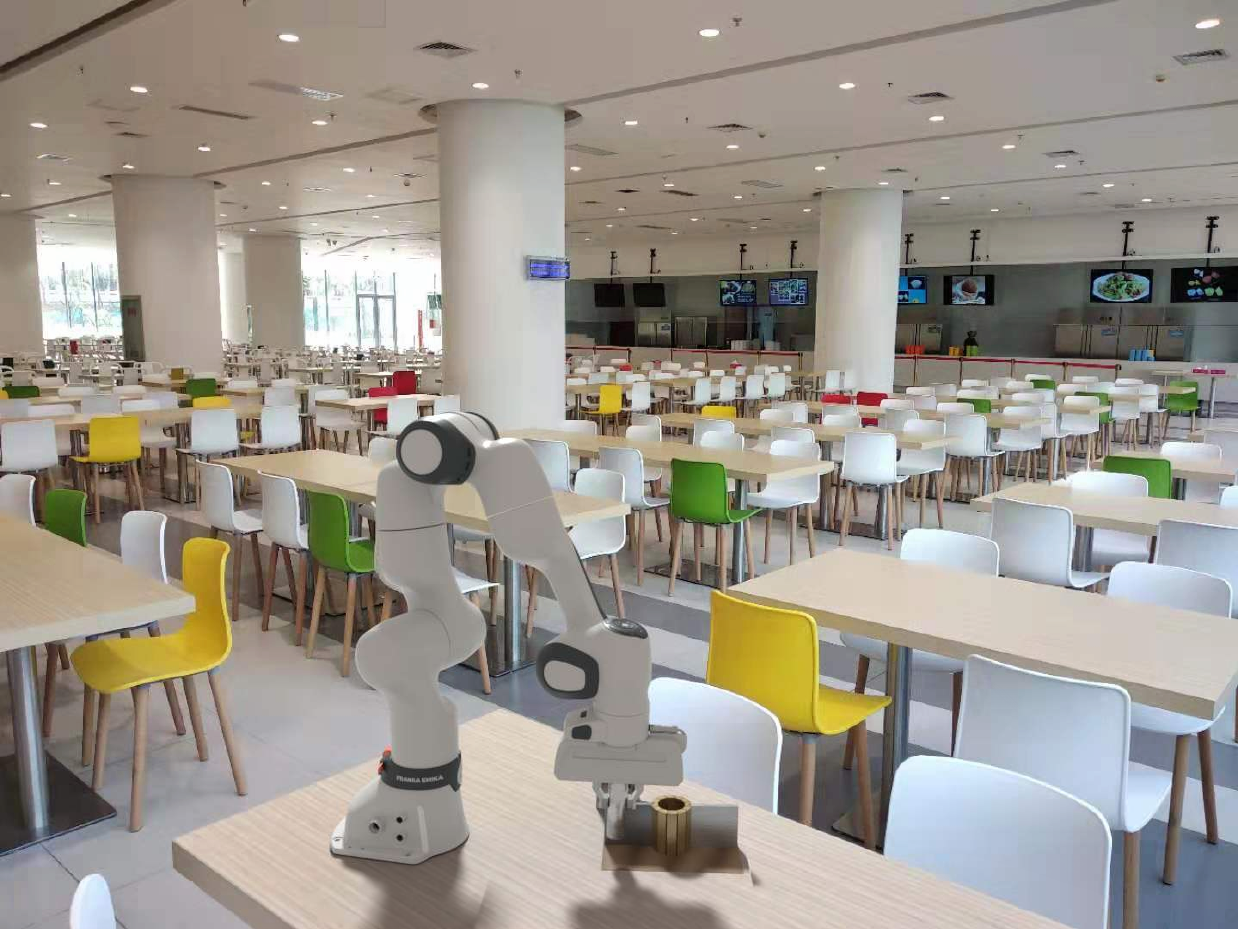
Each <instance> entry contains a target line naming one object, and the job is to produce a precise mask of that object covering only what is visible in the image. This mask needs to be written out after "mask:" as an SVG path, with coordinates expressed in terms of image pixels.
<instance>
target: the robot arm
mask: <svg viewBox="0 0 1238 929" xmlns="http://www.w3.org/2000/svg"><path fill="white" fill-rule="evenodd" d="M395 456H396V459H393V460H392V461H389V462H388V463H386V464H385V465H384V466H383V467H382V468H381V469H380V471H379V473H378V476H377V484H376V493H375V494H376V498H375V512H376V513H375V517H376V518H375V519H376V529H377V530H376V531H377V540H378V541H377V542H378V548H379V549H378V550H379V551H378V552H379V560H380V568H381V569H380V570H381V574H382V576H383V578H384V579H385V580H386V581H387V582H388V583H389V584H391V585H393V586H394V587H397V588H399V589H400V591H401V593H402V594H403V597H404V599H405V601H406V605H407V612H405V613H402V614H399V615H396V616H393V617H390V618H387V619H384V620H382V621H381V622H379V623H378V624H376V625H374V627H372V628H370V629H369V630H368V631H366V632H364V633H363V634H362V635H361V636H360V637H359V639H358V640H357V643H356V645H355V651H354V660H355V665H356V669H357V671H358V673H359V676H360V677H361V678H362V679H363V681H364V682H365V683H366V684H368V685H369V686H370V687H372V688H373V689H374V690H376V691H378V692H379V693H380V695H381V696H382V698H383V699H384V700H383V701H384V702H385V705H386V707H387V710H388V717H389V725H390V729H389V730H390V745H387V746H386V747H385V749H384V750H383V752H382V757H381V759H380V760H379V765H378V767H377V774H378V776H377V777H376V778H374V779H373V780H371V781H370V782H369V783H367V784H366V785H363V787H362V788H361V789H360V790H358V791H357V792H356V793H355V795H354V796H353V797H352V799H351V801H350V803H349V805H348V808H347V811H346V815H345V816H344V817H343V818H342V819H341V820H340V821H339V823H338V824H337V825H336V826H335V828H334V830H333V832H332V834H331V837H330V849H331V852H332V853H333V854H337V855H341V856H347V857H348V856H349V857H357V858H362V859H363V858H364V859H372V860H377V861H378V860H379V861H386V862H394V863H400V864H408V865H418V864H420V863H423V862H424V861H426V860H428V859H430V858H431V857H433V856H437V855H440V854H443V853H446V852H449V851H451V850H453V849H456V848H457V847H458V846H459V847H460V845H461V844H463V843H464V842H465V841H466V840H467V839H468V837H469V834H470V826H469V824H468V822H467V818H466V813H465V809H464V805H463V804H464V803H463V796H462V789H461V786H462V782H463V761H462V752H461V749H460V746H459V745H460V744H459V710H458V707H457V705H456V703H454V702H453V701H452V700H451V699H450V698H449V697H447V696H445V695H443V694H442V693H441V691H440V687H439V681H438V680H439V674H440V672H442V671H444V670H446V669H448V668H451V667H453V666H455V665H458V664H460V663H462V662H465V661H466V660H467V659H469V658H470V656H472V655H473V654H474V653H476V651H478V650H479V649H480V648H482V646H483V644H484V643H485V640H486V637H487V622H486V620H485V616H484V614H483V612H482V611H481V609H480V608H479V607H478V606H477V605H476V604H475V603H474V602H472V601H470V600H469V599H468V598H467V597H466V596H465V594H464V593H463V591H462V590H461V588H460V586H459V583H458V581H457V579H456V576H455V573H454V569H453V566H452V561H451V553H450V546H449V538H448V536H449V535H448V530H447V529H448V528H447V519H446V509H445V494H446V491H447V489H448V487H449V486H461V485H463V484H465V483H466V484H468V485H470V486H472V487H473V488H474V490H475V491H476V493H477V494H478V496H479V499H480V501H481V504H482V505H481V506H482V508H483V510H484V514H485V517H486V520H487V523H488V527H489V530H490V533H491V536H492V538H493V540H494V541H495V544H496V546H497V547H498V549H499V550H500V552H501V553H502V554H503V556H505V557H506V558H508V559H510V560H511V561H514V562H515V563H519V564H520V565H522V564H523V565H527V566H530V567H533V568H534V569H536V570H538V571H540V572H541V573H542V574H543V575H544V576H545V578H546V579H547V580H548V582H549V584H550V586H551V589H552V592H553V594H554V596H555V598H556V601H557V604H558V606H559V609H560V611H561V612H562V616H563V617H564V621H565V628H564V631H563V632H562V633H560V634H559V635H557V636H555V637H554V638H552V639H551V640H549V641H548V642H547V643H546V644H545V645H543V646H542V647H541V648H540V649H539V651H538V653H537V655H536V658H535V663H534V668H535V670H534V672H535V676H536V678H537V681H538V683H539V684H540V686H541V687H542V688H543V690H544V691H545V692H546V693H547V694H549V695H550V696H552V697H554V698H557V699H560V700H578V701H579V700H589V699H591V700H592V701H593V702H592V705H590V706H586V707H582V708H578V709H573V710H570V711H569V712H568V713H567V714H566V716H565V719H564V722H563V731H562V732H561V734H560V736H559V740H558V744H557V747H556V752H555V753H556V754H555V758H554V759H555V760H554V768H553V774H554V777H555V778H556V779H557V780H558V781H564V782H565V781H567V782H584V783H586V782H587V783H592V786H591V788H592V791H593V792H594V793H595V796H596V795H597V797H598V798H599V808H598V809H600V808H608V793H603V791H602V789H601V784H602V783H620V784H635V791H634V792H633V794H627V809H632V810H636V802H637V801H638V799H639V798H640V796H641V795H642V794H643V792H644V791H645V790H644V789H645V786H662V787H665V786H666V787H679V786H680V785H681V784H682V782H683V781H684V760H683V754H684V753H685V752H686V749H687V747H688V736H687V733H686V732H685V731H684V730H683V729H681V728H679V727H678V726H676V725H663V724H661V725H660V724H650V712H651V702H650V698H649V688H650V685H651V683H652V645H651V639H650V634H649V632H648V631H647V629H646V628H645V627H644V626H643V625H641V624H640V623H638V622H637V621H634V620H631V619H630V618H625V617H608V615H606V612H605V611H604V609H603V608H602V606H601V603H600V601H599V600H598V596H597V595H596V592H595V590H594V587H593V585H592V582H591V580H590V578H589V575H588V572H587V570H586V567H585V565H584V563H583V561H582V558H581V556H580V554H579V552H578V548H576V545H575V544H574V542H573V540H572V538H571V537H570V535H569V533H568V531H567V529H566V527H565V525H564V522H563V519H562V517H561V514H560V511H559V509H558V506H557V503H556V500H555V497H554V493H553V490H552V489H551V486H550V483H549V480H548V478H547V475H546V472H545V471H544V468H543V466H542V464H541V463H540V461H539V458H538V456H537V454H536V453H535V451H534V449H533V447H532V446H531V444H529V443H528V442H527V441H525V440H524V439H521V438H517V437H503V438H502V437H501V438H500V434H499V431H498V430H497V428H496V426H495V425H494V424H493V422H492V421H490V420H489V418H487V417H485V416H483V415H482V414H479V413H477V412H474V411H445V412H441V413H438V414H435V415H425V416H422V417H419V418H417V419H415V420H413V421H412V422H410V423H409V424H407V425H406V426H405V428H403V429H402V431H401V432H400V434H399V436H398V438H397V441H396V445H395ZM636 800H637V801H636Z"/></svg>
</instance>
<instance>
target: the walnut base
mask: <svg viewBox="0 0 1238 929" xmlns="http://www.w3.org/2000/svg"><path fill="white" fill-rule="evenodd" d="M604 841H605V830H604V831H603V843H602V856H601V867H600V869H601V870H600V871H626V872H628V871H629V872H663V873H665V872H666V873H671V872H672V873H703V874H704V873H706V874H708V873H709V874H742V875H743V874H744V869H743V863H742V859H741V854H740V848H739V844H738V841H737V848H727V847H691V848H690V849H689V850H688V851H687V852H685V853H683V854H680V855H667V854H666V855H664V854H661V853H658V852H656V851H655V850H654V849H653V848H652V847H651V846H643V845H604Z"/></svg>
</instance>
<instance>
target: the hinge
mask: <svg viewBox="0 0 1238 929" xmlns="http://www.w3.org/2000/svg"><path fill="white" fill-rule="evenodd" d="M607 813H608V808H605V809H604V831H605V841H604V840H603V841H604V845H643V846H651V847H652V848H653V849H654V850H655V851H656V852H658V853H661V854H664V855H666V854H667V855H680V854H683V853H685V852H687V851H688V850H689V849H690V848H691V847H727V848H737V842H738V836H739V835H738V834H739V832H738V831H739V804H735V803H733V804H727V803H726V804H725V803H692V802H691V801H690V800H689V799H687V798H686V797H684V796H680V795H676V794H663V795H660V796H656V797H654V799H652V800H651V802H649V801H647V802H643V801H640V802H639V801H636V810H632V809H627V815H626V836H625V837H624V838H623V839H620V840H613V839H610V838H608V837H607Z"/></svg>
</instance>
